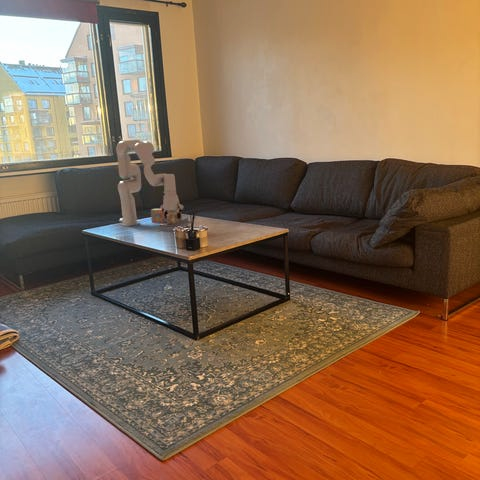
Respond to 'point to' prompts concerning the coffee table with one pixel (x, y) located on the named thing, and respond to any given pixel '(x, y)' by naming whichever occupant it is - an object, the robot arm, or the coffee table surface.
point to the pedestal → (172, 218)
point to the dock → (170, 227)
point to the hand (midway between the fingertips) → (172, 218)
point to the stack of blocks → (161, 215)
